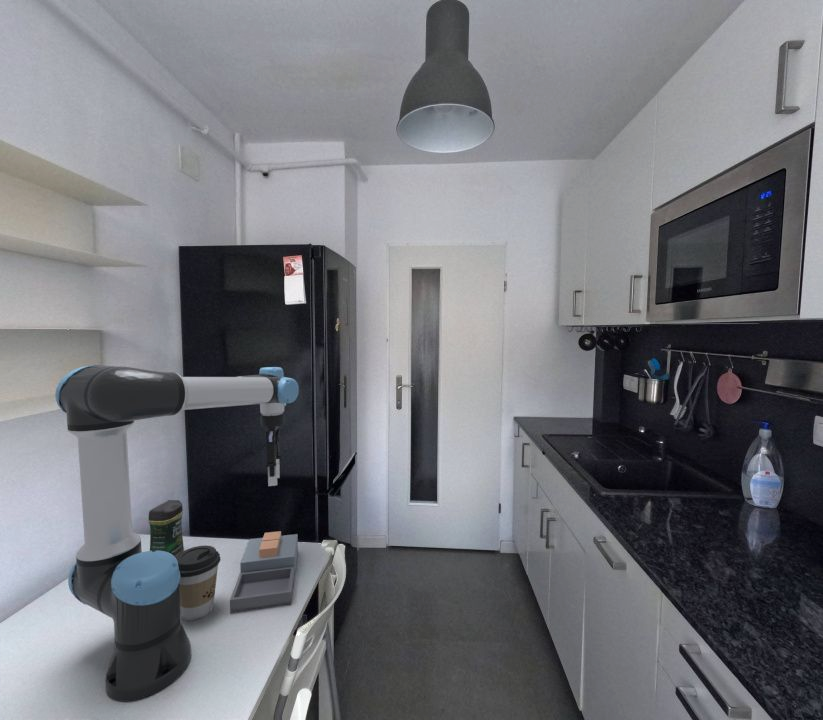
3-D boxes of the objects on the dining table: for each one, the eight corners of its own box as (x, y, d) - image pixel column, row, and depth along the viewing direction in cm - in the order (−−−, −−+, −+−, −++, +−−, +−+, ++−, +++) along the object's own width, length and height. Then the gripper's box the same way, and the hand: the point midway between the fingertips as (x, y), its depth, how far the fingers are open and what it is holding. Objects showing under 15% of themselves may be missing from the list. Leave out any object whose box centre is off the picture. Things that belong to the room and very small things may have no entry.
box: (290, 604, 104) (290, 591, 104) (230, 613, 101) (229, 600, 101) (294, 578, 116) (294, 566, 116) (240, 585, 113) (239, 573, 113)
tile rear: (279, 546, 122) (279, 538, 122) (262, 548, 121) (262, 540, 121) (281, 538, 127) (280, 531, 127) (264, 540, 126) (264, 532, 126)
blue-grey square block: (294, 576, 117) (294, 556, 117) (240, 583, 114) (240, 562, 113) (297, 551, 131) (297, 534, 130) (249, 557, 127) (249, 539, 127)
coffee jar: (169, 569, 121) (167, 510, 120) (144, 568, 121) (142, 509, 120) (188, 552, 130) (187, 497, 130) (166, 552, 131) (164, 497, 130)
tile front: (277, 555, 117) (277, 547, 117) (259, 558, 116) (259, 549, 116) (279, 547, 122) (278, 539, 122) (262, 549, 121) (261, 541, 121)
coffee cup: (207, 626, 96) (205, 567, 96) (161, 626, 97) (159, 566, 96) (230, 596, 108) (228, 543, 107) (189, 596, 108) (187, 542, 107)
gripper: (281, 418, 122) (282, 491, 123) (287, 408, 141) (288, 471, 142) (255, 419, 120) (257, 493, 122) (265, 409, 139) (266, 473, 140)
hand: (274, 481), depth 132 cm, fingers open, 6 cm apart
